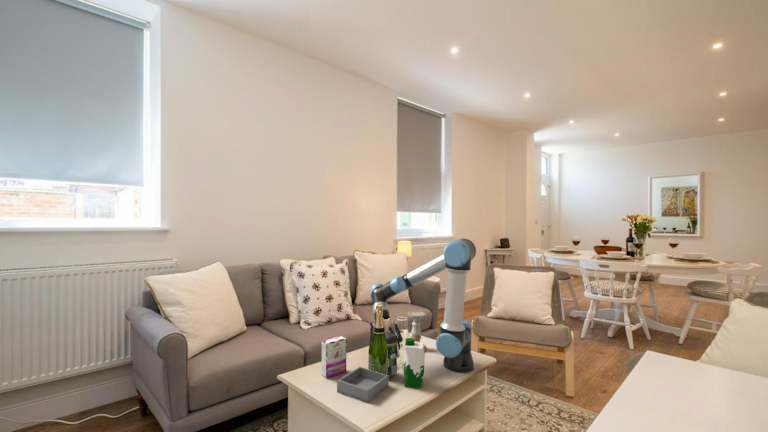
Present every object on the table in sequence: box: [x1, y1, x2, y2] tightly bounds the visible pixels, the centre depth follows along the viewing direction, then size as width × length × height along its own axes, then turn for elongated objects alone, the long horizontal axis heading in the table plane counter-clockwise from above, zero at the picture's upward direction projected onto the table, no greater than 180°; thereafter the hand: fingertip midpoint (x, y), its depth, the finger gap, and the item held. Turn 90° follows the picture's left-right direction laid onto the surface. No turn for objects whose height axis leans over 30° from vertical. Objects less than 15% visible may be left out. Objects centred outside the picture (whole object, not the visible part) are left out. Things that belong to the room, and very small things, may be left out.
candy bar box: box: [321, 335, 347, 379], centre depth 174 cm, size 11×5×16 cm, turn 129°
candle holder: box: [406, 310, 428, 352], centre depth 207 cm, size 12×12×20 cm
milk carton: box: [403, 337, 426, 390], centre depth 165 cm, size 9×9×20 cm
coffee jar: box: [386, 332, 398, 377], centre depth 173 cm, size 10×8×19 cm
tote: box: [336, 366, 390, 404], centre depth 160 cm, size 16×17×5 cm
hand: (388, 357), depth 169 cm, fingers closed on coffee jar, 9 cm apart
